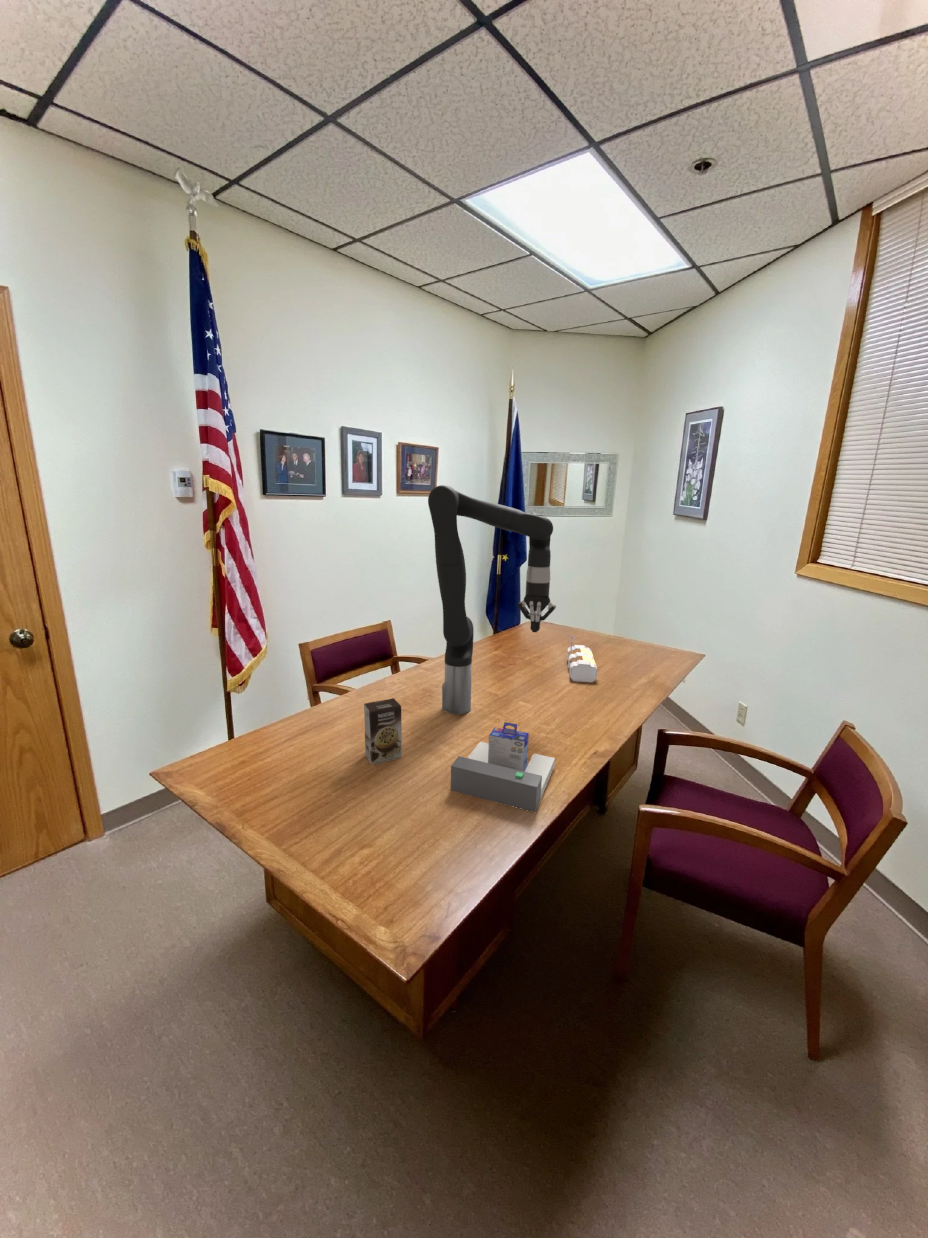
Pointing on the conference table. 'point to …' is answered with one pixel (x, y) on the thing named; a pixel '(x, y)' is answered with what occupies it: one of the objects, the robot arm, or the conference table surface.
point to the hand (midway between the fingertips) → (535, 631)
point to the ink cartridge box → (508, 747)
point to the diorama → (582, 664)
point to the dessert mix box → (383, 731)
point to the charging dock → (501, 779)
